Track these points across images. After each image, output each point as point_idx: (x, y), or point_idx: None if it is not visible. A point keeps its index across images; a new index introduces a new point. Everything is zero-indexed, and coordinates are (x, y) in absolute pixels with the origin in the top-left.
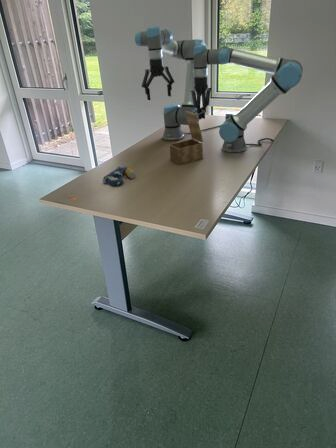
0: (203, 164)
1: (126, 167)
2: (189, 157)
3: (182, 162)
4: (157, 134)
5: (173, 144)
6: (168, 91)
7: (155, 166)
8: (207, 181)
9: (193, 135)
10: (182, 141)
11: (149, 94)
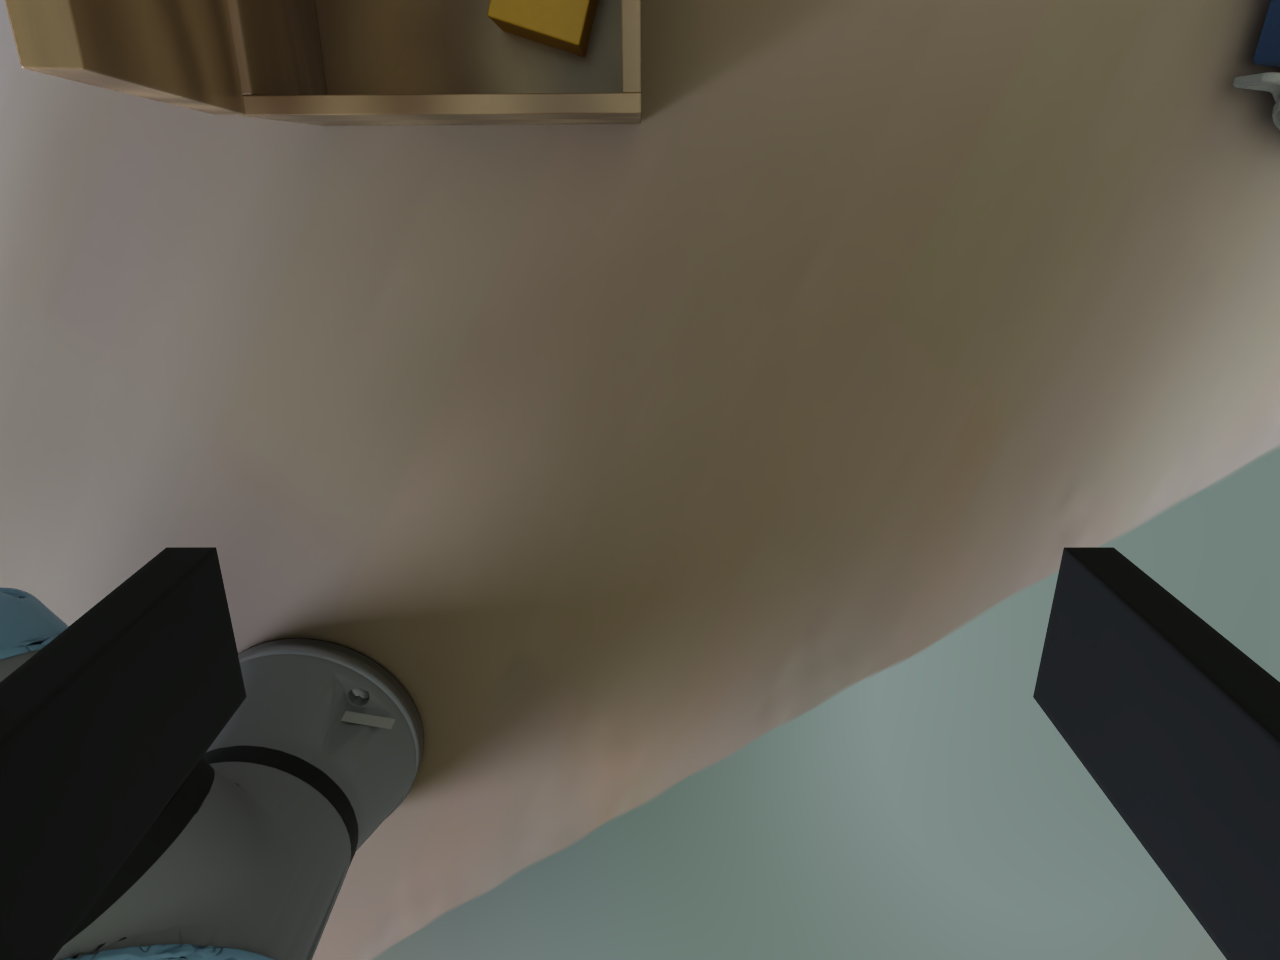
0: None
1: (1263, 74)
2: None
3: None
4: (416, 905)
5: (582, 93)
6: (134, 746)
7: (891, 26)
8: None
9: (217, 20)
10: (422, 101)
11: (1224, 665)
